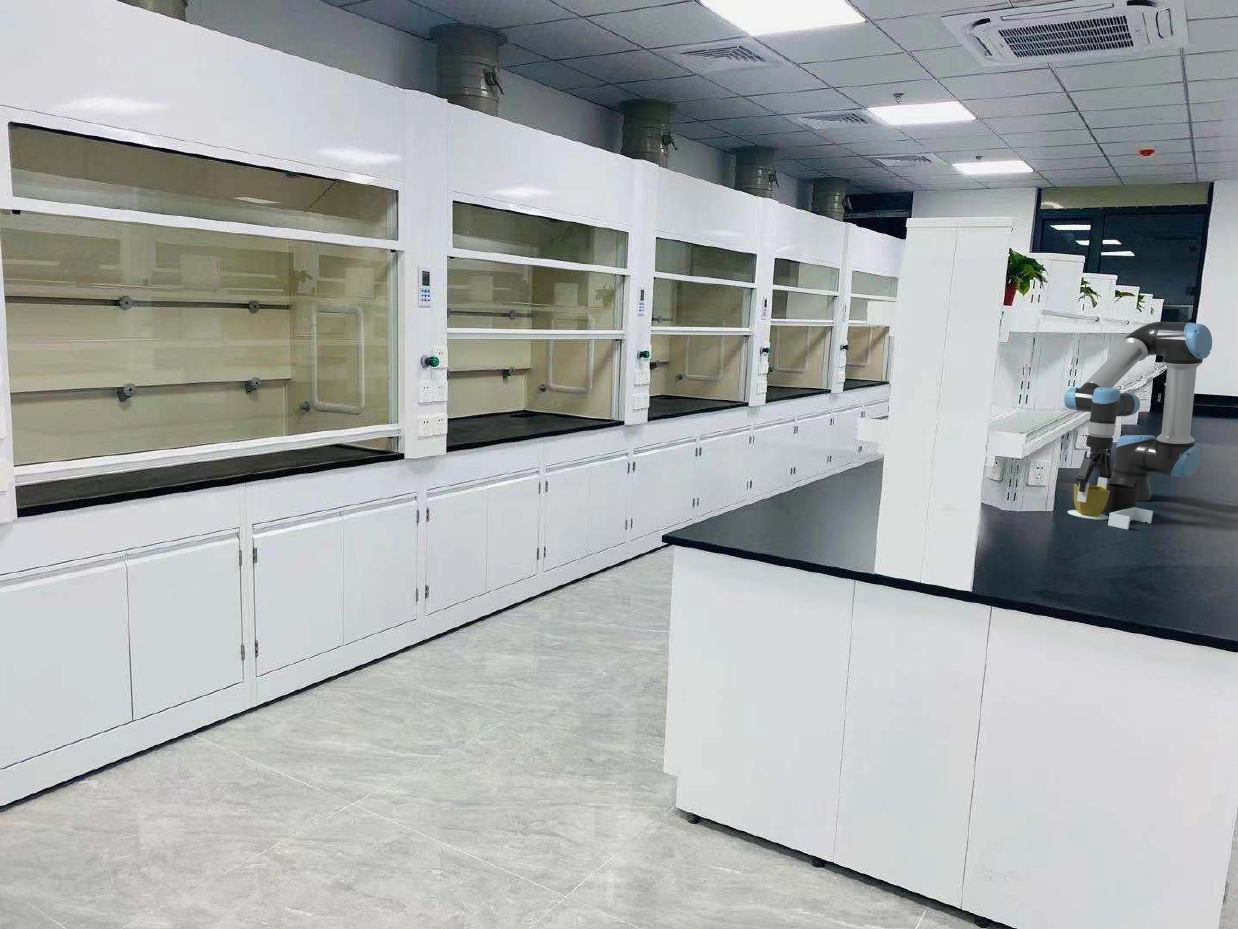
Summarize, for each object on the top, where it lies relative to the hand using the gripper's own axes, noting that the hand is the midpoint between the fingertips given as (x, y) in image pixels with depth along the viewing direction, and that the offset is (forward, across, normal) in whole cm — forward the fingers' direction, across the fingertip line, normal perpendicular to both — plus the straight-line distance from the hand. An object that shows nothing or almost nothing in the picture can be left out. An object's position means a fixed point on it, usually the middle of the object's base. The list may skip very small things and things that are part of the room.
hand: (1091, 499), depth 292 cm
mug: (+6, -16, +3) cm, 18 cm away
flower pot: (+5, +1, 0) cm, 5 cm away
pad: (+5, 0, 0) cm, 5 cm away
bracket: (+5, +1, +13) cm, 14 cm away
